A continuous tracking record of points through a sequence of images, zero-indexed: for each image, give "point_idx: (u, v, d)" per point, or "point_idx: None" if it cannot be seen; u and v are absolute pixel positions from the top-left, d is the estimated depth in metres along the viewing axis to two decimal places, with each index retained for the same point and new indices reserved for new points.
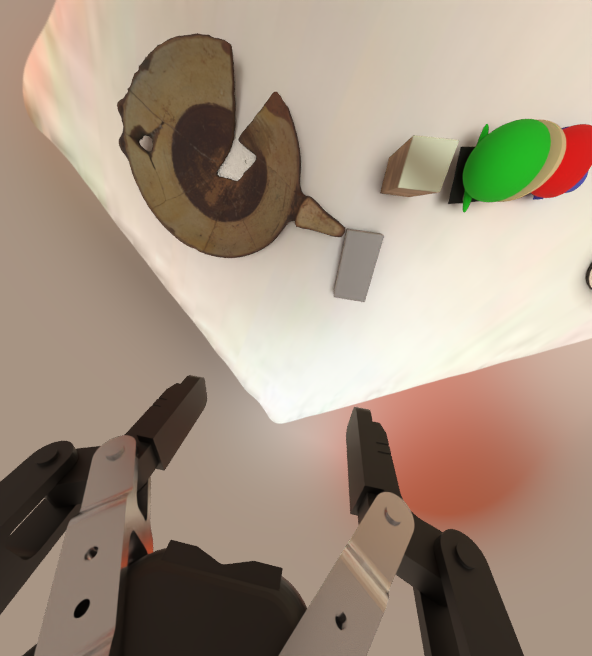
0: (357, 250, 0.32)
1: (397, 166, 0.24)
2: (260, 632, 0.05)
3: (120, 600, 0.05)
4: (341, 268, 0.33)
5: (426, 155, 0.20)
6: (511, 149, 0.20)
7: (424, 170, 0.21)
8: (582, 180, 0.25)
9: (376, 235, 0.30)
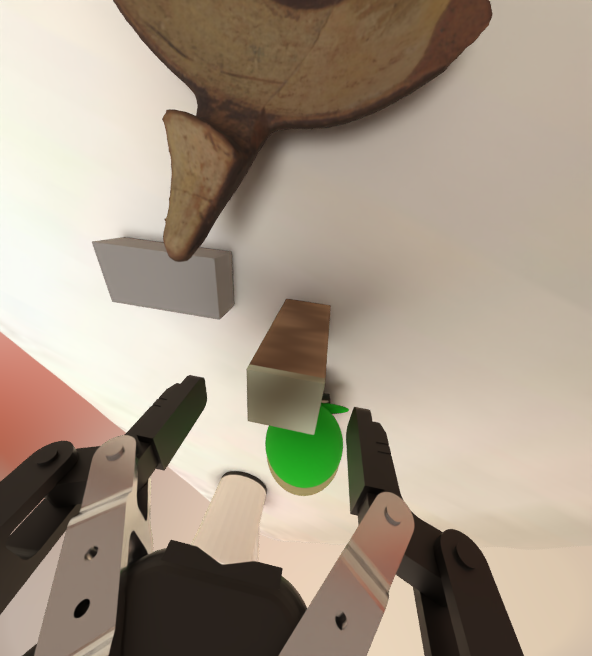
0: (186, 279, 0.17)
1: (298, 341, 0.14)
2: (260, 632, 0.05)
3: (120, 600, 0.05)
4: (148, 252, 0.17)
5: (295, 402, 0.12)
6: (308, 466, 0.16)
7: (274, 401, 0.12)
8: None
9: (217, 308, 0.18)
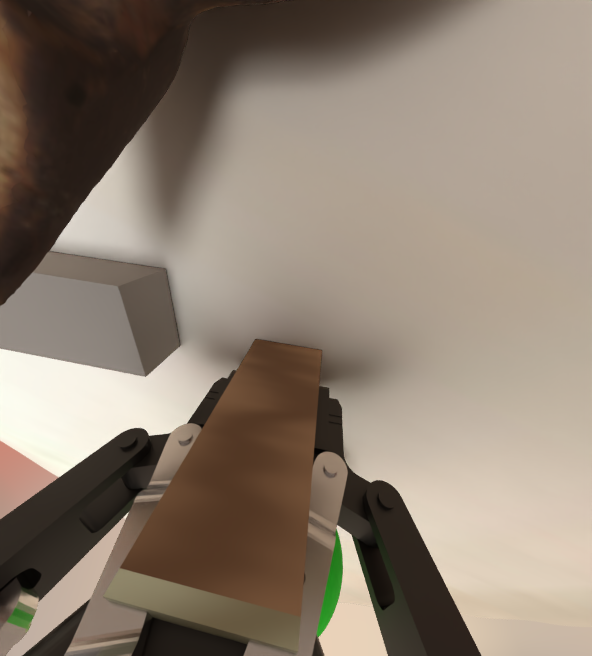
0: (81, 317, 0.10)
1: (255, 456, 0.07)
2: None
3: None
4: None
5: None
6: None
7: None
8: None
9: (139, 361, 0.11)
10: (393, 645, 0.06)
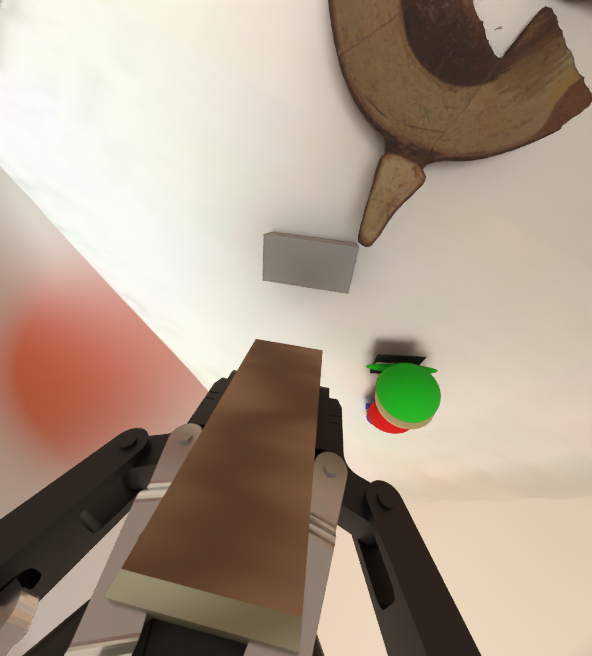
0: (331, 262, 0.23)
1: (256, 457, 0.07)
2: None
3: None
4: (307, 242, 0.23)
5: None
6: (424, 403, 0.23)
7: None
8: None
9: (348, 284, 0.24)
10: (393, 645, 0.06)
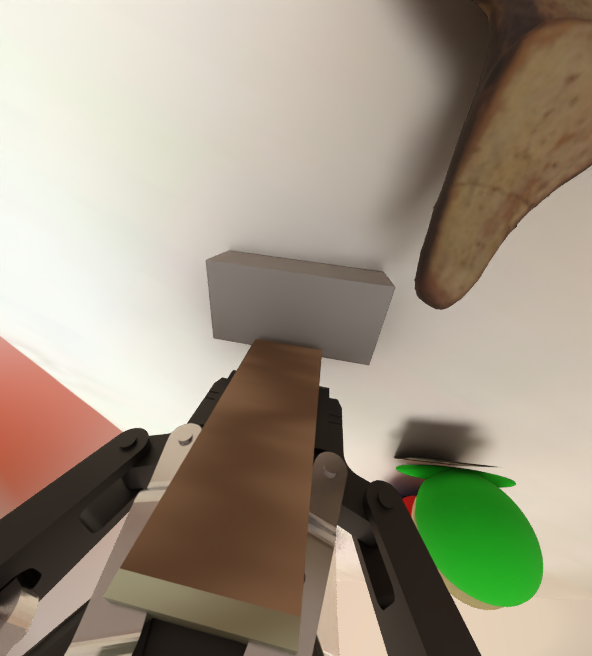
0: (338, 313, 0.12)
1: (255, 457, 0.07)
2: None
3: None
4: (291, 277, 0.12)
5: None
6: (523, 587, 0.12)
7: None
8: None
9: (371, 351, 0.13)
10: (393, 645, 0.06)
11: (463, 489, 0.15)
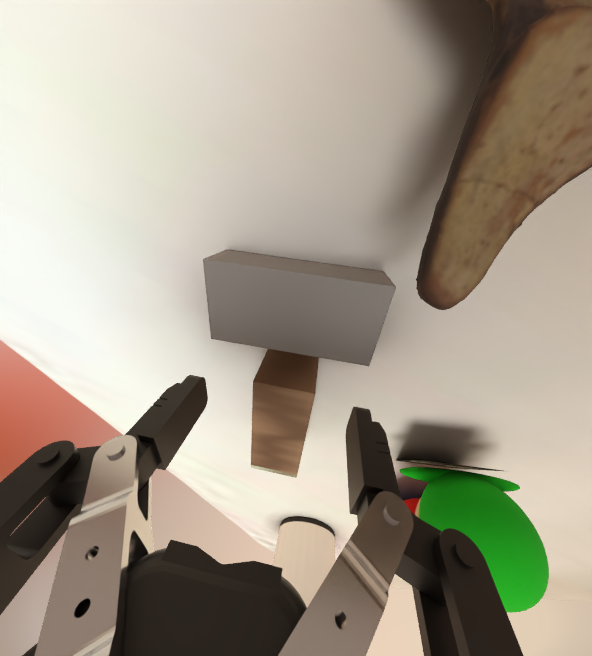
0: (338, 313, 0.12)
1: (277, 450, 0.17)
2: (260, 632, 0.05)
3: (121, 599, 0.05)
4: (289, 276, 0.11)
5: None
6: (530, 593, 0.12)
7: None
8: None
9: (371, 352, 0.13)
10: None
11: (468, 493, 0.14)
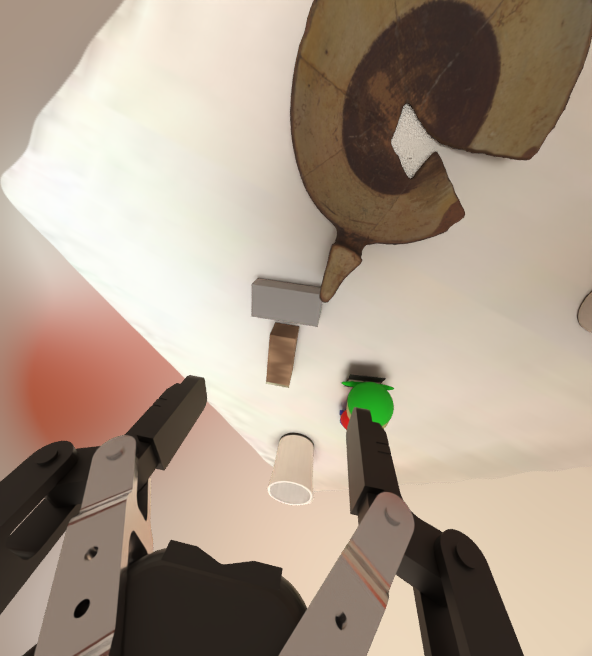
0: (303, 305, 0.31)
1: (279, 371, 0.36)
2: (260, 632, 0.05)
3: (120, 600, 0.05)
4: (285, 290, 0.30)
5: None
6: (380, 414, 0.31)
7: None
8: None
9: (317, 320, 0.32)
10: None
11: (366, 385, 0.34)
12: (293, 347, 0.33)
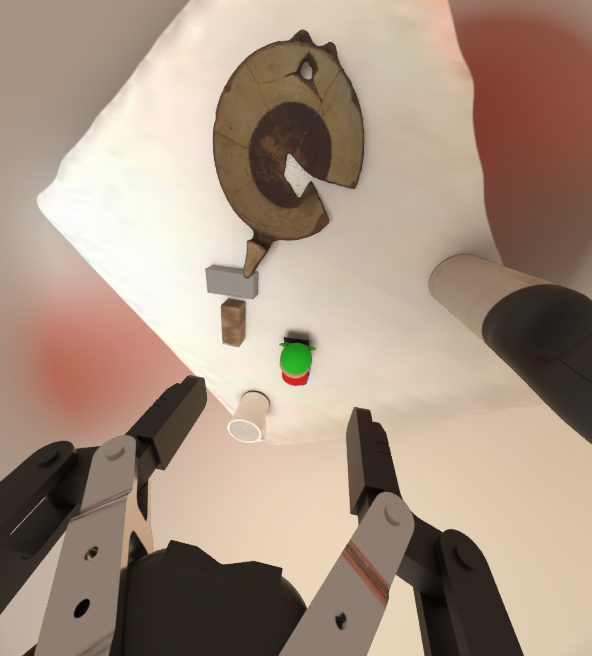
0: (241, 283, 0.44)
1: (231, 333, 0.50)
2: (260, 632, 0.05)
3: (121, 600, 0.05)
4: (227, 273, 0.44)
5: None
6: (298, 362, 0.45)
7: None
8: None
9: (252, 294, 0.45)
10: None
11: (293, 344, 0.47)
12: (238, 314, 0.47)
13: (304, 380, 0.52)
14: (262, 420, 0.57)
